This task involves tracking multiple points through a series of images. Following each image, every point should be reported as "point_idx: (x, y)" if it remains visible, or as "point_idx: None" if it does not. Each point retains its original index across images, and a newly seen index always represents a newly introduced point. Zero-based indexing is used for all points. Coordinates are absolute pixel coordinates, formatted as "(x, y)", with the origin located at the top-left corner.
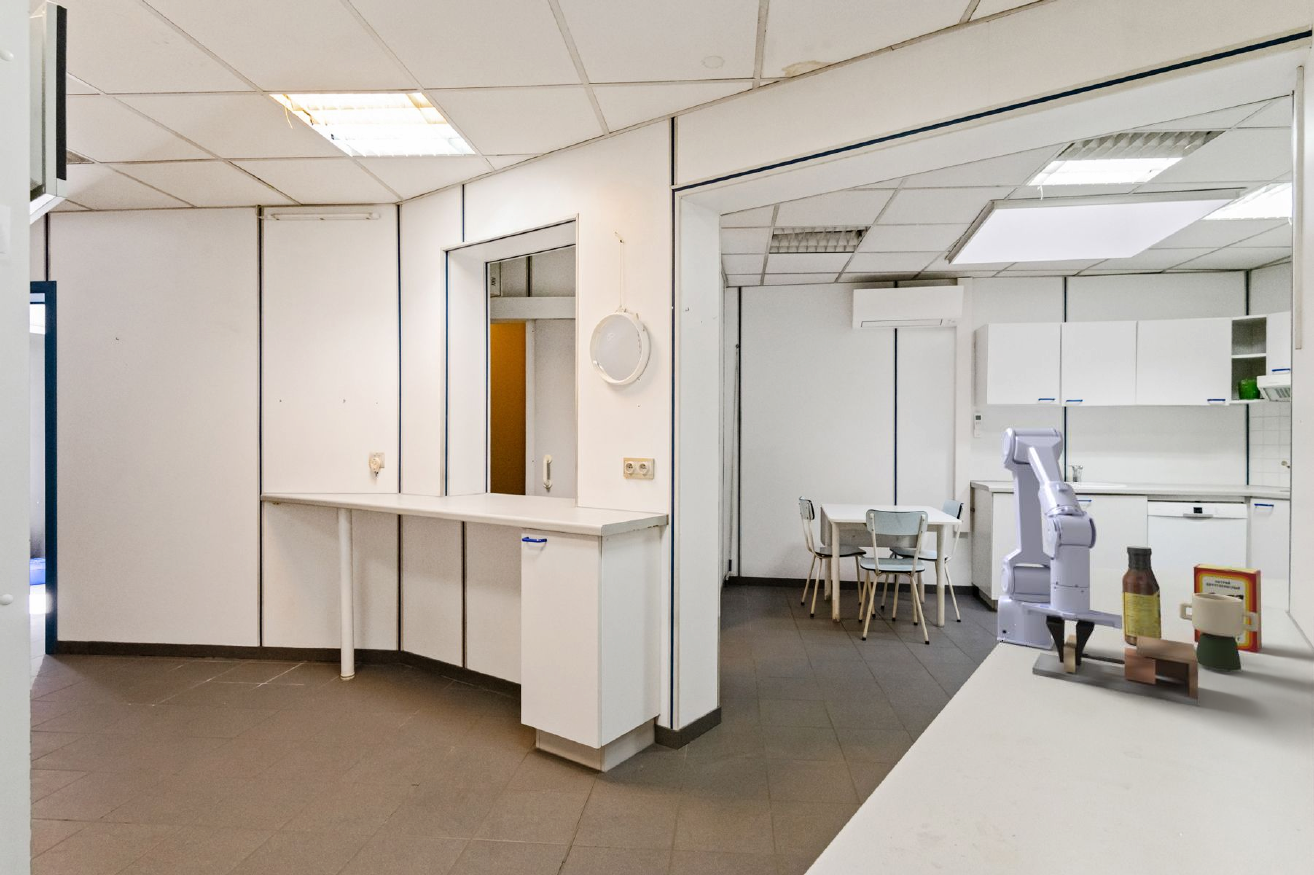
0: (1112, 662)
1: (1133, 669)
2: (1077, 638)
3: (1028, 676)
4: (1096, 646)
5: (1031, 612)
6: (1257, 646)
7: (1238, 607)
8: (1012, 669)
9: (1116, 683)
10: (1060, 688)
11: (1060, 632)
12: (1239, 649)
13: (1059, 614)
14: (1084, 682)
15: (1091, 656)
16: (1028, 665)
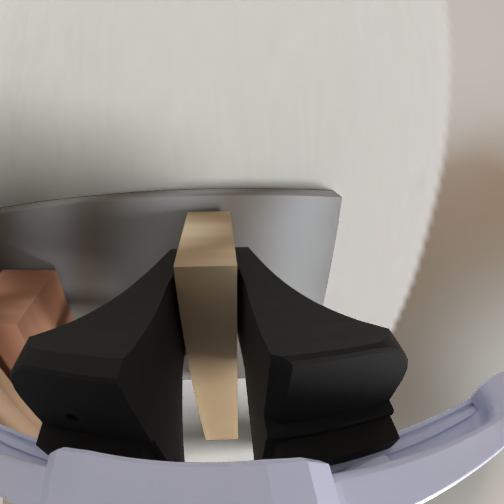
0: None
1: (21, 290)
2: (144, 316)
3: (344, 148)
4: (204, 456)
5: (466, 418)
6: None
7: (3, 498)
8: (388, 199)
9: (62, 212)
10: (230, 69)
11: (272, 324)
12: None
13: (337, 491)
14: (157, 192)
15: None
16: (340, 278)
